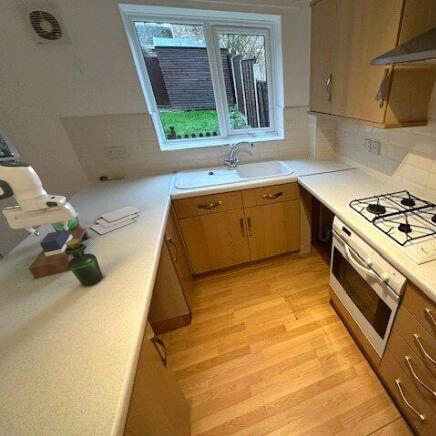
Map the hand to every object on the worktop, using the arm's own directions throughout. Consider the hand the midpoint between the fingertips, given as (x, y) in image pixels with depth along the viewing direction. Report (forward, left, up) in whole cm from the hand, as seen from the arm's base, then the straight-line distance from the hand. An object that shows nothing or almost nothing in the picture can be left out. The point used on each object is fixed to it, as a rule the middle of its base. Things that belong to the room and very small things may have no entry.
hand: (51, 232), depth 102 cm
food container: (-4, +23, -12) cm, 26 cm away
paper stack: (+16, +30, -12) cm, 36 cm away
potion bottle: (+15, -26, -12) cm, 33 cm away
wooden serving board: (0, 0, -12) cm, 12 cm away
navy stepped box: (0, 0, -7) cm, 7 cm away
